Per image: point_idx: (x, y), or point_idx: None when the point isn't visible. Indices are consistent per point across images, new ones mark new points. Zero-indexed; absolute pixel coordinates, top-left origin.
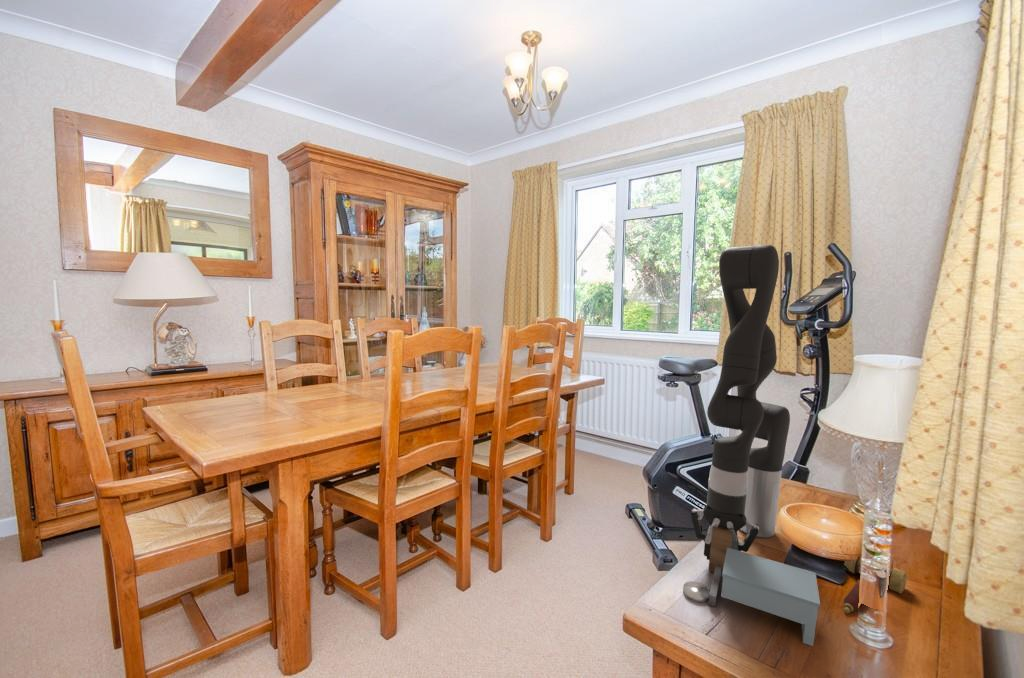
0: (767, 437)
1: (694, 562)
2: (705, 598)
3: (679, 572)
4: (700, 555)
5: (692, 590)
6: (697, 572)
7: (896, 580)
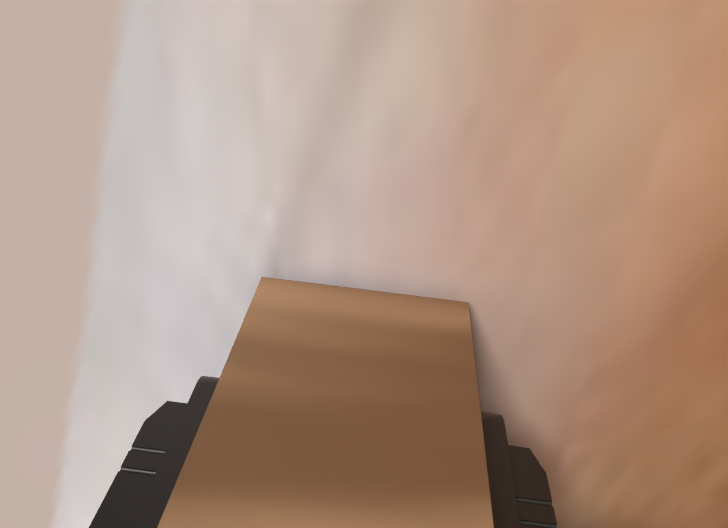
0: None
1: (122, 329)
2: None
3: (65, 491)
4: (140, 172)
5: None
6: None
7: None
